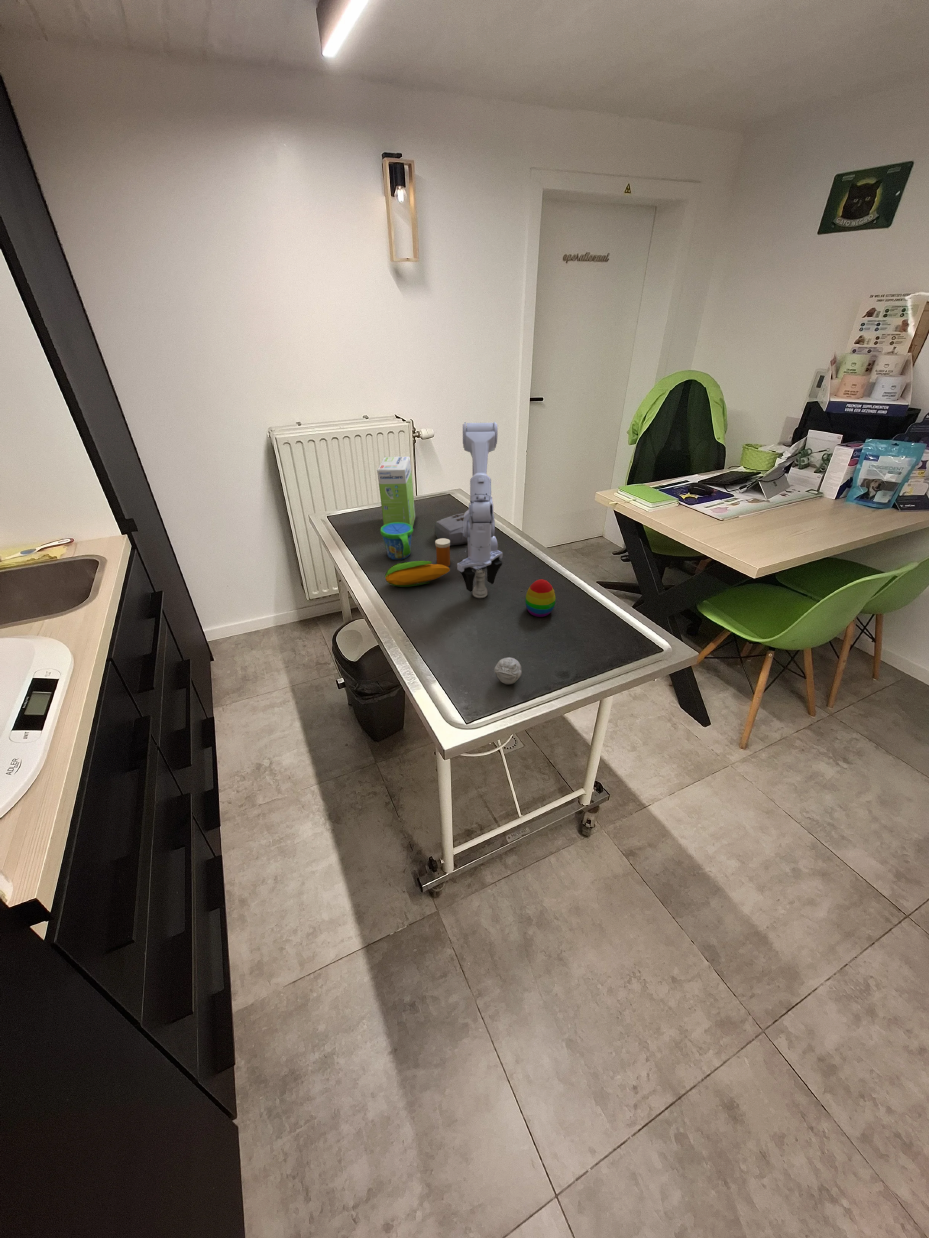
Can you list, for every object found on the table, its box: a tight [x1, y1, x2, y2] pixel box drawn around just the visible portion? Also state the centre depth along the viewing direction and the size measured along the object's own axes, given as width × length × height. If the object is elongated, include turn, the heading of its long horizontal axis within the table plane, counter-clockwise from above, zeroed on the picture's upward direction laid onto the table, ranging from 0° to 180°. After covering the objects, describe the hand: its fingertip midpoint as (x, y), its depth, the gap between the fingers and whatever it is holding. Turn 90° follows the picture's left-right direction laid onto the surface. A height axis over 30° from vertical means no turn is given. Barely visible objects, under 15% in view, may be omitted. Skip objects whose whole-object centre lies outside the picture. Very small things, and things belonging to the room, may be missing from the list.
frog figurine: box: [494, 657, 522, 685], centre depth 109 cm, size 6×7×7 cm
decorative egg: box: [524, 578, 556, 618], centre depth 132 cm, size 8×8×10 cm
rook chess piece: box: [472, 568, 488, 599], centre depth 141 cm, size 4×4×8 cm
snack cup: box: [379, 522, 414, 561], centre depth 162 cm, size 16×10×10 cm
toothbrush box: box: [376, 456, 416, 529], centre depth 180 cm, size 18×10×24 cm, turn 179°
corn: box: [384, 560, 451, 588], centre depth 147 cm, size 7×8×20 cm
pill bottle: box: [434, 538, 451, 567], centre depth 158 cm, size 5×5×8 cm
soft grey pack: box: [433, 512, 468, 546], centre depth 176 cm, size 15×8×20 cm
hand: (480, 586), depth 141 cm, fingers open, 7 cm apart
